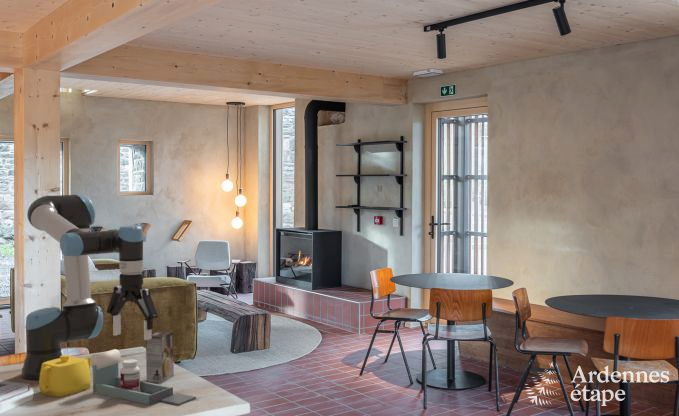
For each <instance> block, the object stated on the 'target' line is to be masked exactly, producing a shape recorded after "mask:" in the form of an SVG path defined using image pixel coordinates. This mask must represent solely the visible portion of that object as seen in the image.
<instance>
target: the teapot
mask: <svg viewBox="0 0 679 416" xmlns="http://www.w3.org/2000/svg"><path fill="white" fill-rule="evenodd" d="M90 358H91V356H90V357H85V358H82V357H76V356H71V355H69V354H62V356H60V358H58V359H54V360H50V361H47V362H44V363H42V366H41V371H40V378H39V380H38V382H39V383H38V386H39V391H40V393H41V394H44V395H47V396H51V397H56V398H62V397H66V396H70V395H75V394H78V393H81V392H83V391H86V390H89V389H90V387H91V384H92V379H91V371H90V370H91V369H90V368H91V365H90Z"/></svg>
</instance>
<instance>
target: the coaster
mask: <svg viewBox="0 0 679 416" xmlns="http://www.w3.org/2000/svg"><path fill="white" fill-rule="evenodd" d="M196 399H197V396H194V395H189V394H183V393H178V392H176V393H173V395H171V396H168V397H165V398H163V399H160V403H161V402H162V403H166V404H170V405H175V406H181V405H184V404H186V403H189V402H191V401H193V400H196Z"/></svg>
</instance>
